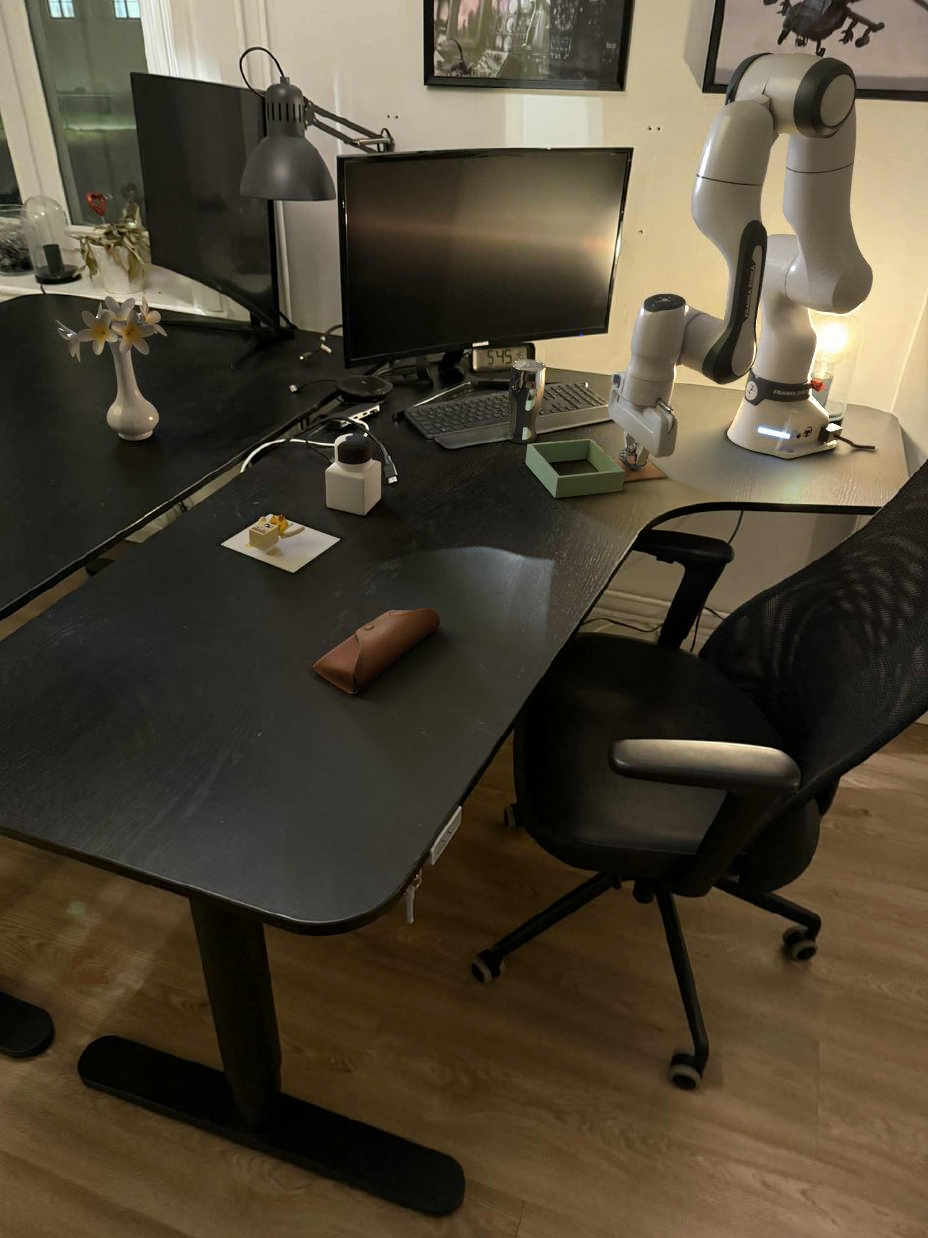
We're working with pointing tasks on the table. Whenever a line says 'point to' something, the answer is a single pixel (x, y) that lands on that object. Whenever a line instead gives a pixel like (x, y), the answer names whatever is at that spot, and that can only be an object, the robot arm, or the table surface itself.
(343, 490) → the medicine bottle
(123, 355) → the flower vase
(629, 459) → the cork pad
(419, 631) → the sunglasses case
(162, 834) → the table surface
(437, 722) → the table surface
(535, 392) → the shiny metal tumbler
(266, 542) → the miniature model
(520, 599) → the table surface
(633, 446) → the wristwatch
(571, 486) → the tray
